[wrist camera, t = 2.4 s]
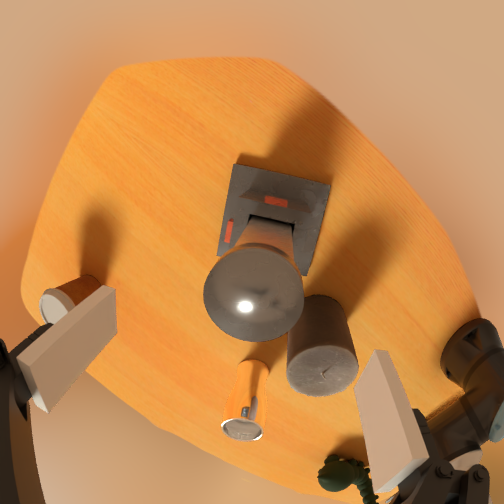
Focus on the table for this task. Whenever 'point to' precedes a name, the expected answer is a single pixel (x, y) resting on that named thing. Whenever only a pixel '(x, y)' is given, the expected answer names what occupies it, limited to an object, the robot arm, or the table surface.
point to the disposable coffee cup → (66, 297)
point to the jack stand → (274, 208)
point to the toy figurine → (347, 477)
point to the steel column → (256, 283)
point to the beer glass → (247, 403)
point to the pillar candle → (321, 349)
